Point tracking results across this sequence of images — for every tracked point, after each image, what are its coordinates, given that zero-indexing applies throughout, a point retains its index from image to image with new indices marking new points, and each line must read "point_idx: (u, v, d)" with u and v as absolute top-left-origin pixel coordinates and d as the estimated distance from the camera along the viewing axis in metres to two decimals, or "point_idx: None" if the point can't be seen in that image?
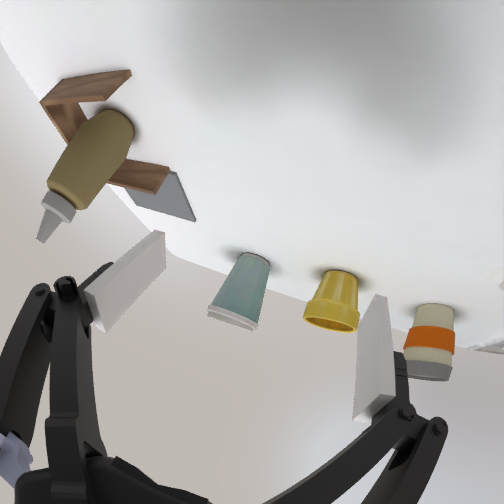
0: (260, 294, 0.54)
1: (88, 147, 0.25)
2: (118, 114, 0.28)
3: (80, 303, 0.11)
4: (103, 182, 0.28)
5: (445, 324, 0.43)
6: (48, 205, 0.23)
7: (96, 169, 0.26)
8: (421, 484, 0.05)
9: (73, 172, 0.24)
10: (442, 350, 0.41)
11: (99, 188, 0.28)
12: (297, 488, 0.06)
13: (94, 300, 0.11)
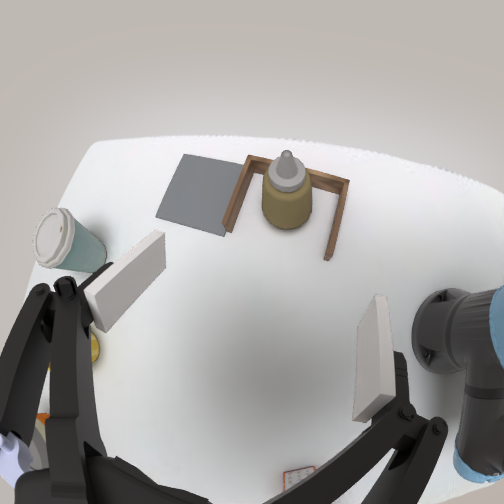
0: (72, 269, 0.41)
1: (302, 214, 0.39)
2: None
3: (80, 303, 0.11)
4: (270, 208, 0.38)
5: None
6: (302, 179, 0.32)
7: (286, 215, 0.38)
8: (422, 484, 0.05)
9: (301, 204, 0.36)
10: None
11: (269, 204, 0.38)
12: (297, 488, 0.06)
13: (94, 300, 0.11)
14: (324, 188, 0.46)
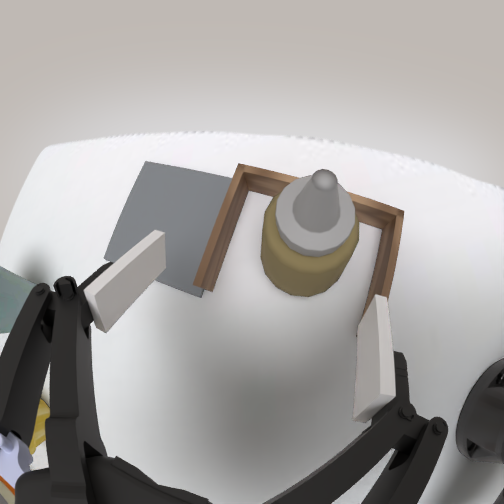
0: (5, 332, 0.24)
1: (333, 280, 0.22)
2: None
3: (80, 303, 0.11)
4: (276, 273, 0.21)
5: None
6: (348, 232, 0.15)
7: (306, 286, 0.20)
8: (422, 483, 0.05)
9: (336, 272, 0.18)
10: None
11: (274, 268, 0.20)
12: (297, 488, 0.06)
13: (94, 300, 0.11)
14: (360, 219, 0.29)
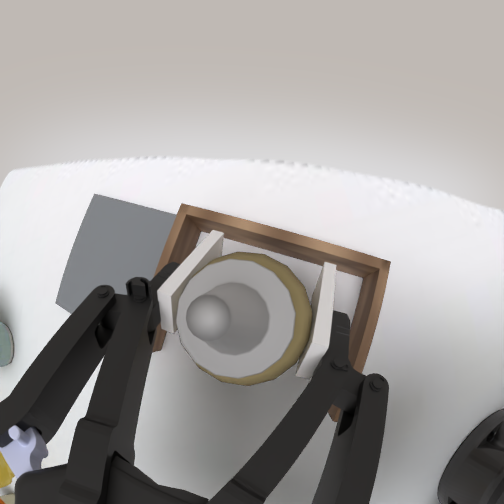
0: None
1: None
2: None
3: (151, 308, 0.12)
4: None
5: None
6: (281, 353, 0.10)
7: None
8: (376, 443, 0.07)
9: None
10: None
11: None
12: (252, 458, 0.07)
13: (169, 301, 0.12)
14: (336, 268, 0.24)
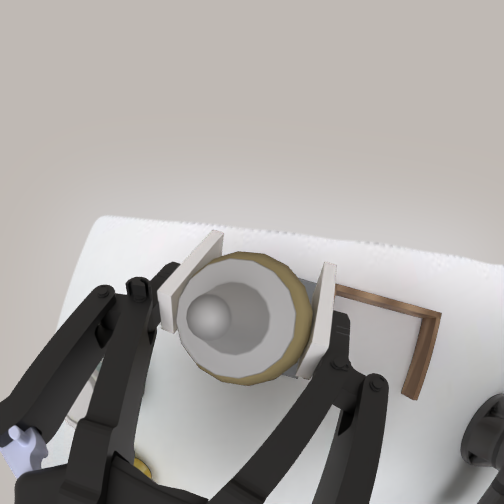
0: None
1: None
2: None
3: (151, 308, 0.12)
4: None
5: None
6: (281, 353, 0.10)
7: None
8: (376, 443, 0.07)
9: None
10: None
11: None
12: (252, 458, 0.07)
13: (169, 301, 0.12)
14: (409, 314, 0.36)
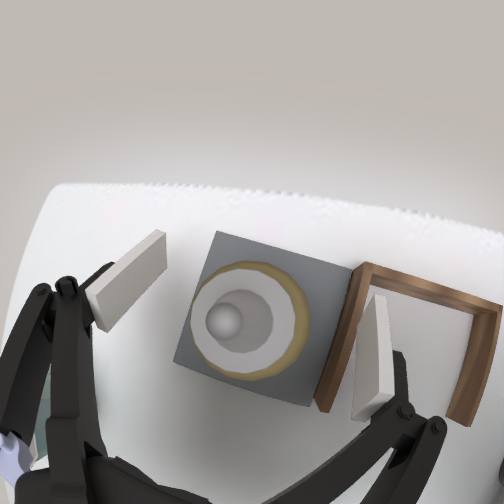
0: None
1: None
2: None
3: (81, 303, 0.11)
4: None
5: None
6: (283, 351, 0.11)
7: None
8: (421, 483, 0.05)
9: None
10: None
11: None
12: (296, 487, 0.06)
13: (95, 300, 0.11)
14: (460, 309, 0.23)
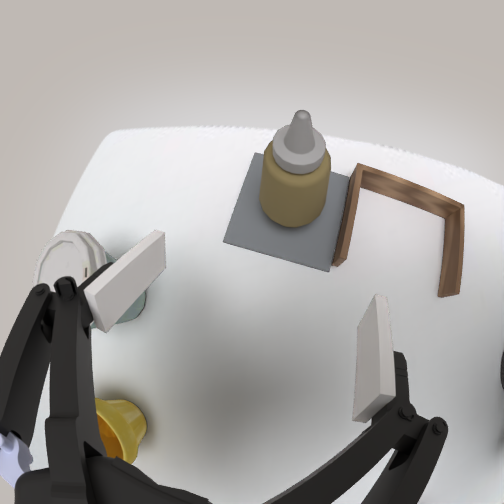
0: None
1: (316, 207, 0.29)
2: None
3: (80, 303, 0.11)
4: (272, 199, 0.27)
5: None
6: (321, 155, 0.22)
7: (295, 207, 0.27)
8: (422, 484, 0.05)
9: (317, 193, 0.25)
10: None
11: (271, 193, 0.27)
12: (297, 488, 0.06)
13: (94, 300, 0.11)
14: (433, 211, 0.34)
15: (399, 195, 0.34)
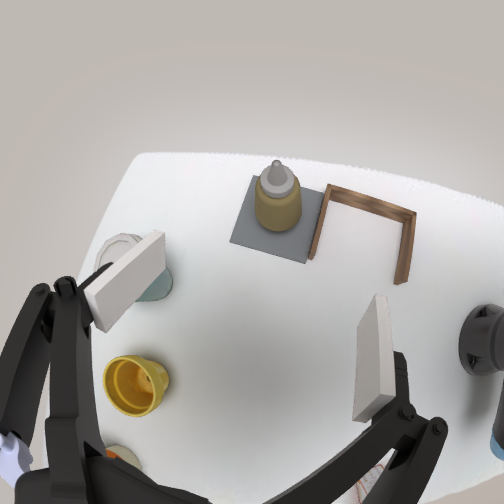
0: (142, 301, 0.42)
1: (292, 218, 0.42)
2: None
3: (80, 303, 0.11)
4: (262, 213, 0.41)
5: None
6: (291, 186, 0.36)
7: (277, 218, 0.41)
8: (422, 484, 0.05)
9: (291, 209, 0.39)
10: None
11: (261, 209, 0.41)
12: (297, 488, 0.06)
13: (94, 300, 0.11)
14: (391, 217, 0.47)
15: (362, 206, 0.48)
